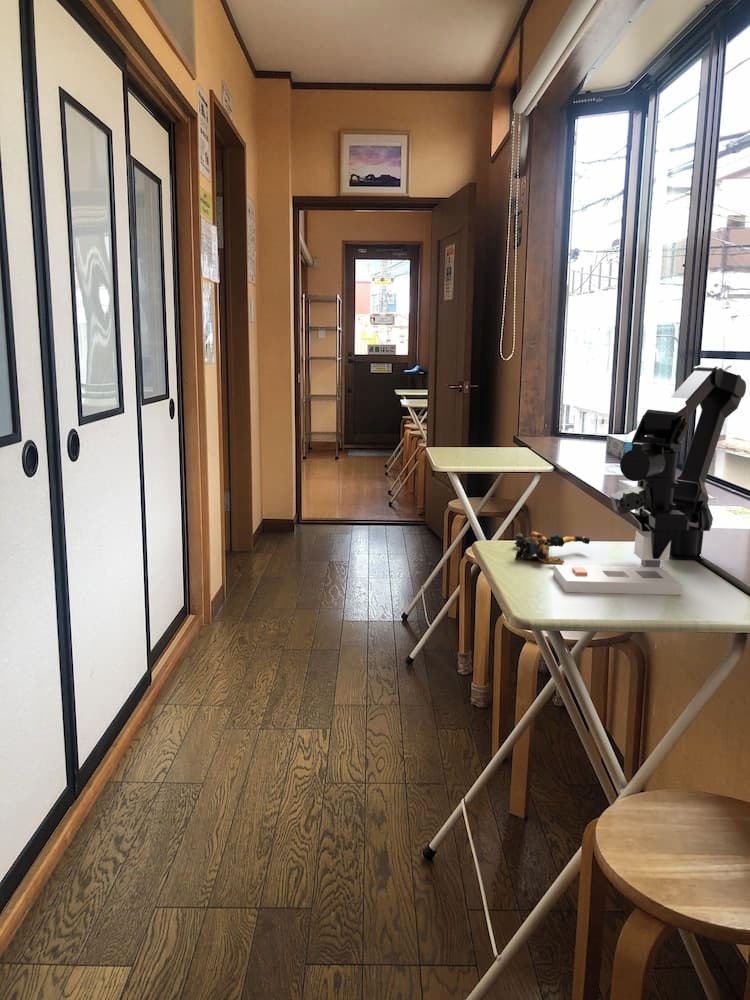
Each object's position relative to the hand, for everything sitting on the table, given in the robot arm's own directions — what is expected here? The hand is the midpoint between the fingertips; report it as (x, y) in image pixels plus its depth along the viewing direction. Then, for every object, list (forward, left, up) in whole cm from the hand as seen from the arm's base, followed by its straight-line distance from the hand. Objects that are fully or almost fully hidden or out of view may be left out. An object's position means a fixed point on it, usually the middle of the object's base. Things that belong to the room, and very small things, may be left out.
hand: (651, 555), depth 156 cm
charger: (0, 0, -2) cm, 2 cm away
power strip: (+10, +11, -3) cm, 15 cm away
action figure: (+18, -6, -3) cm, 20 cm away
